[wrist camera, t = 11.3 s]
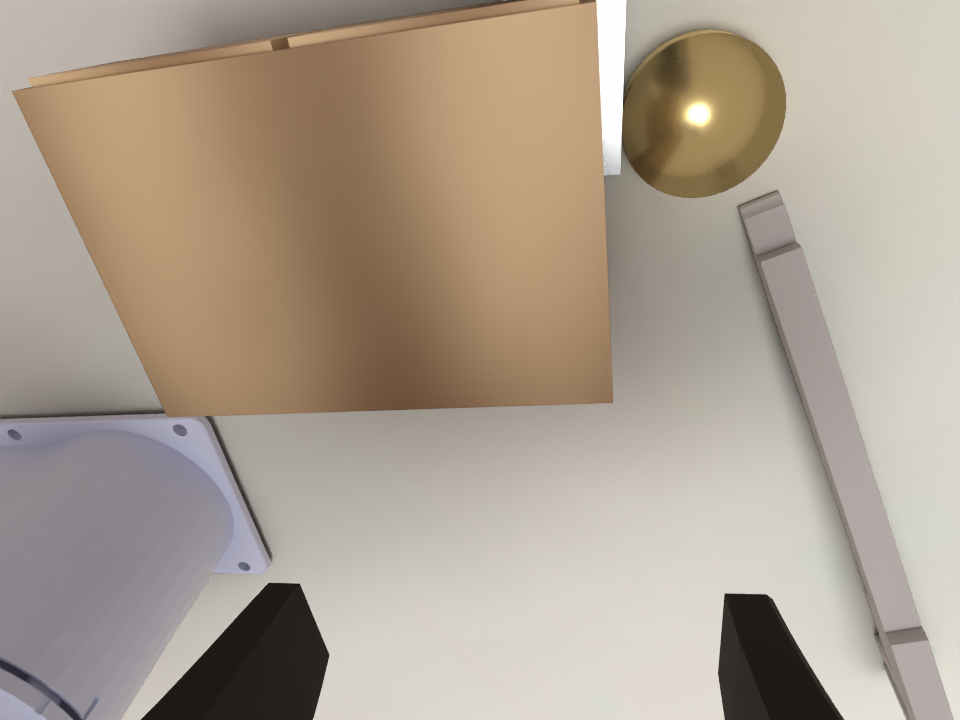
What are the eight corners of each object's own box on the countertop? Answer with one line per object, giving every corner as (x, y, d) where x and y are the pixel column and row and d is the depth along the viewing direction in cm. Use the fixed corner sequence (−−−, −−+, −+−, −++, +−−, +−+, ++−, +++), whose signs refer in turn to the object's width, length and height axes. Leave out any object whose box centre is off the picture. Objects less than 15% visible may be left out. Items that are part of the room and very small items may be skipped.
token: (615, 185, 17) (617, 199, 16) (623, 33, 15) (626, 37, 14) (759, 182, 16) (770, 196, 15) (785, 23, 14) (800, 27, 13)
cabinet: (278, 299, 20) (167, 417, 14) (195, 46, 16) (7, 82, 11) (605, 276, 18) (613, 402, 13) (592, -17, 14) (596, -11, 9)
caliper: (913, 661, 25) (1003, 850, 19) (881, 665, 25) (962, 852, 20) (775, 185, 16) (868, 288, 11) (731, 203, 17) (800, 311, 11)
